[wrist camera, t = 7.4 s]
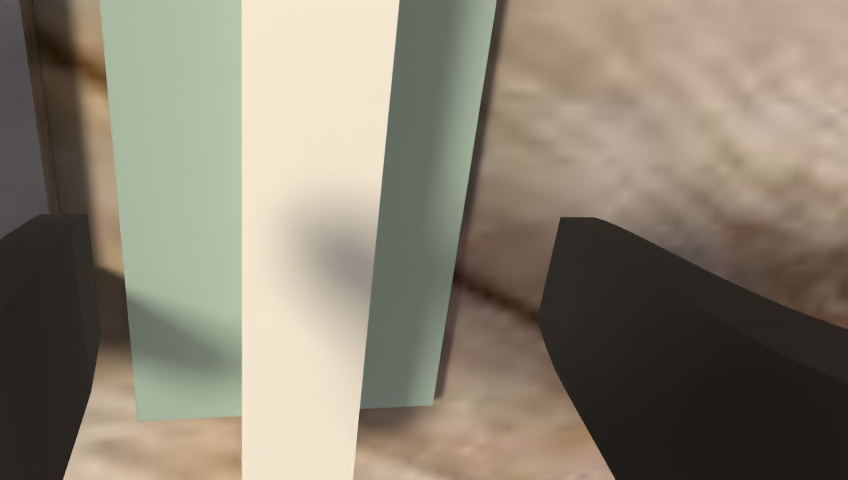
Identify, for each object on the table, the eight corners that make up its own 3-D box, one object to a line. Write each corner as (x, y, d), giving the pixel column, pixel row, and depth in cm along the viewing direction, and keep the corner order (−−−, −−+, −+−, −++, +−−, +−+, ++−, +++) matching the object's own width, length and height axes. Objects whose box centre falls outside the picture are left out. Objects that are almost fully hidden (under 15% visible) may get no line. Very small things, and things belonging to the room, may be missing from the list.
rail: (340, 409, 23) (352, 482, 21) (242, 414, 22) (241, 491, 20) (407, -412, 14) (444, -465, 11) (241, -449, 13) (240, -513, 10)
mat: (428, 393, 24) (432, 405, 24) (139, 407, 22) (137, 421, 22) (546, -372, 15) (556, -378, 14) (63, -474, 13) (55, -486, 12)
